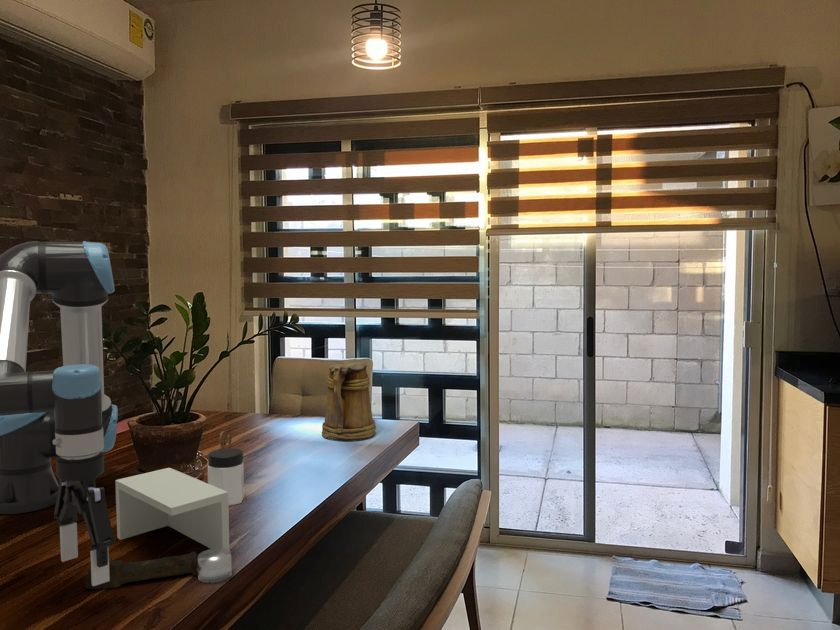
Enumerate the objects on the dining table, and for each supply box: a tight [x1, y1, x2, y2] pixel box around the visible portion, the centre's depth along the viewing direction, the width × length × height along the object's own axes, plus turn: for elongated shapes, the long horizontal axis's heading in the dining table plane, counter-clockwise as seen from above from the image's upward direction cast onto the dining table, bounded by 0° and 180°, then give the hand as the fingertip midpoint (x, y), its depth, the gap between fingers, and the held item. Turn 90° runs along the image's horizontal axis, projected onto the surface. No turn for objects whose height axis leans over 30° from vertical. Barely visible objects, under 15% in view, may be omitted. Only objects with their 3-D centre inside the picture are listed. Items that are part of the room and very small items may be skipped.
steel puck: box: [197, 548, 233, 584], centre depth 128 cm, size 6×6×4 cm
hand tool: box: [84, 551, 198, 590], centre depth 126 cm, size 19×4×5 cm, turn 110°
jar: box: [207, 447, 245, 507], centre depth 167 cm, size 9×8×12 cm
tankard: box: [321, 358, 377, 442], centre depth 228 cm, size 18×24×25 cm
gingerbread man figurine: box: [216, 430, 233, 450], centre depth 188 cm, size 9×4×12 cm, turn 168°
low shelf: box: [114, 467, 230, 551], centre depth 141 cm, size 24×12×12 cm, turn 47°
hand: (84, 570), depth 122 cm, fingers open, 13 cm apart
